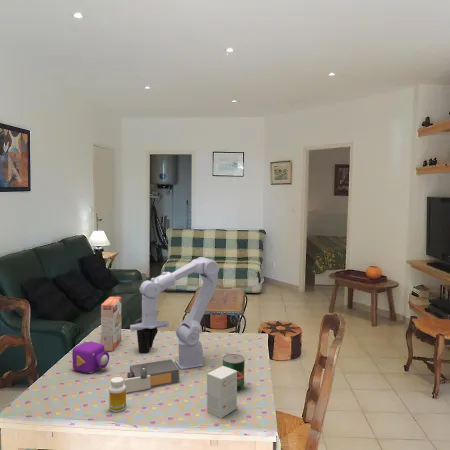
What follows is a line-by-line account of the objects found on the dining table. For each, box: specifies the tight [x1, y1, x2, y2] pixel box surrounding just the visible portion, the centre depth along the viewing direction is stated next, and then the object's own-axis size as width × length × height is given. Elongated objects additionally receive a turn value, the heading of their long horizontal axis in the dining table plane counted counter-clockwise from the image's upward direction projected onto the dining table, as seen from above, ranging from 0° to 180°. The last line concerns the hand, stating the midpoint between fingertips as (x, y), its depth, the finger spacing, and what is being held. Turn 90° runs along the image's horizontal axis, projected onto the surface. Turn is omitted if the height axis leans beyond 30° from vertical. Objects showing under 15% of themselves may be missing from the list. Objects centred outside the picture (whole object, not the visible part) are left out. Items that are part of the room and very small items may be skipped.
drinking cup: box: [134, 317, 151, 355], centre depth 189 cm, size 8×8×20 cm
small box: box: [206, 365, 238, 419], centre depth 141 cm, size 8×6×13 cm
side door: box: [123, 367, 151, 394], centre depth 153 cm, size 9×2×8 cm, turn 113°
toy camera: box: [71, 339, 110, 374], centre depth 171 cm, size 11×14×10 cm
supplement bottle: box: [108, 376, 127, 413], centre depth 142 cm, size 5×5×10 cm
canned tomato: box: [222, 353, 246, 393], centre depth 157 cm, size 8×8×11 cm
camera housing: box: [126, 359, 180, 389], centre depth 162 cm, size 18×10×5 cm, turn 113°
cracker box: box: [100, 296, 122, 352], centre depth 195 cm, size 14×6×21 cm, turn 179°
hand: (149, 346), depth 168 cm, fingers closed
